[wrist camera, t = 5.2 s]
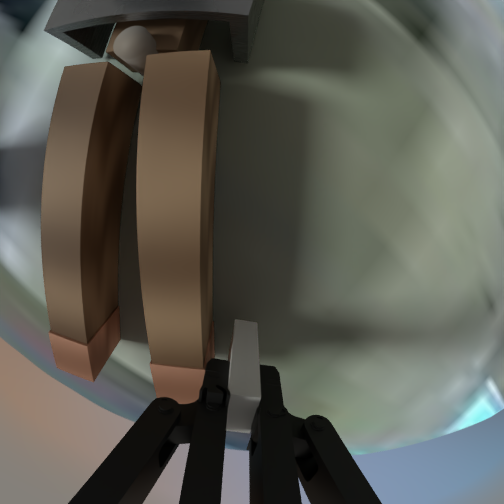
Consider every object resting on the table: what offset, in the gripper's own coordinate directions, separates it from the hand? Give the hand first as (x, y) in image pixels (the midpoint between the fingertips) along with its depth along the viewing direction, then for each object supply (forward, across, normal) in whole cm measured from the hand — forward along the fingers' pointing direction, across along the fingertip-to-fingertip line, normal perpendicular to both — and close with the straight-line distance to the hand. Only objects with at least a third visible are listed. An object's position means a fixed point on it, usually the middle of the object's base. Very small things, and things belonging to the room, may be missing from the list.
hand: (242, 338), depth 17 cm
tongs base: (+1, -9, +9) cm, 12 cm away
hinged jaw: (+1, -4, +6) cm, 7 cm away
